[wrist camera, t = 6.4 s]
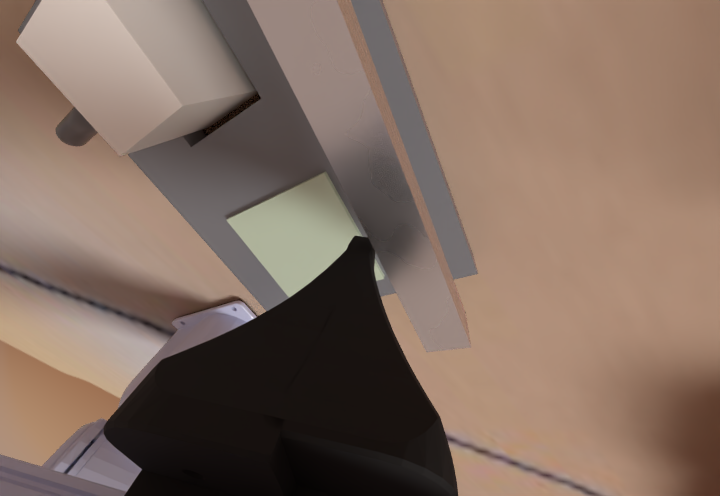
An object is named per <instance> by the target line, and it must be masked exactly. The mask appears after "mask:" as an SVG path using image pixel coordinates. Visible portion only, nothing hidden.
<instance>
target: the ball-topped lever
mask: <svg viewBox="0 0 720 496" xmlns="http://www.w3.org/2000/svg"><path fill="white" fill-rule="evenodd" d="M247 2H248V4H249V5H250V7H251V9H252V11H253V13H254V15H255V17H256V19H257V21H258V23H259V25H260V27H261V29H262V31H263V33H264V35H265V37H266V39H267V41H268V43H269V45H270V47H271V49H272V50H273V52H274V54H275V56H276V58H277V60H278V62H279V64H280V66H281V68H282V70H283V72H284V74H285V76H286V78H287V80H288V82H289V84H290V86H291V88H292V90H293V92H294V94H295V96H296V97H297V99H298V101H299V103H300V105H301V107H302V109H303V111H304V113H305V115H306V117H307V119H308V121H309V123H310V125H311V127H312V129H313V131H314V133H315V135H316V137H317V139H318V141H319V143H320V144H321V146H322V148H323V150H324V152H325V154H326V156H327V158H328V160H329V162H330V164H331V166H332V168H333V170H334V172H335V174H336V176H337V178H338V180H339V182H340V184H341V186H342V188H343V190H344V191H345V193H346V195H347V197H348V199H349V201H350V203H351V205H352V207H353V209H354V211H355V213H356V215H357V217H358V219H359V221H360V223H361V225H362V227H363V229H364V231H365V233H366V235H367V237H368V238H369V240H370V242H371V244H372V246H373V248H374V250H375V252H376V254H377V256H378V258H379V260H380V262H381V264H382V266H383V268H384V270H385V272H386V274H387V276H388V278H389V280H390V282H391V284H392V285H393V287H394V289H395V291H396V293H397V295H398V297H399V299H400V301H401V303H402V305H403V307H404V309H405V311H406V313H407V315H408V317H409V319H410V321H411V323H412V325H413V327H414V329H415V331H416V332H417V334H418V336H419V338H420V340H421V342H422V344H423V346H424V348H425V350H426V352H433V351H442V350H452V349H461V348H470V347H471V343H470V337H469V330H468V324H467V318H466V312H465V310H464V307H463V304H462V302H461V299H460V296H459V293H458V291H457V288H456V285H455V283H454V280H453V277H452V274H451V272H450V269H449V266H448V264H447V261H446V258H445V255H444V253H443V250H442V247H441V245H440V242H439V239H438V236H437V234H436V231H435V228H434V226H433V223H432V220H431V217H430V215H429V212H428V209H427V206H426V204H425V201H424V198H423V196H422V193H421V190H420V187H419V185H418V182H417V179H416V177H415V174H414V171H413V168H412V166H411V163H410V160H409V158H408V155H407V152H406V149H405V147H404V144H403V141H402V139H401V136H400V133H399V130H398V128H397V125H396V122H395V120H394V117H393V114H392V111H391V109H390V106H389V103H388V101H387V98H386V95H385V92H384V90H383V87H382V84H381V82H380V79H379V76H378V73H377V71H376V68H375V65H374V63H373V60H372V57H371V54H370V52H369V49H368V46H367V44H366V41H365V38H364V35H363V33H362V30H361V27H360V25H359V22H358V19H357V16H356V14H355V11H354V8H353V5H352V3H351V0H247Z"/></svg>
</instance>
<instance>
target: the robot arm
mask: <svg viewBox="0 0 720 496" xmlns="http://www.w3.org/2000/svg"><path fill="white" fill-rule="evenodd" d="M374 266H375V250H374V248H373V246H372V244H371V242H370V240H369V238H368V237H362V236H354V237H353V238H352V240H351V241H350V243H349V245H348V247H347V250H346V251H345V252H344V253H343V254H342V255H341V256H340V257H339V258H337V259H336V260H335V261H334V262H333V263H332V264H331V265H330V266H329V267H328V268H327V269H326V270H325V271H323V272H322V273H321V274H320V275H319V276H317V277H316V278H315V279H314V280H313V281H311V282H310V283H309V284H307V285H306V286H305V287H304V288H302V289H301V290H299V291H298V292H297V293H295V294H294V295H292V296H291V297H289V298H288V299H286V300H285V301H283V302H282V303H280V304H278V305H277V306H275V307H273V308H272V309H270V310H268V311H267V312H265V313H263V314H261V315H260V316H258V317H257V316H256V315H255V314H254V313H253V312H252V311H251V310H250V309H249V308H248V307H247V306H246V305H245V303H243V302H242V301H234V302H230V303H227V304H224V305H220V306H217V307H214V308H210V309H207V310H203V311H200V312H197V313H193V314H190V315H186V316H183V317H180V318H176V319H174V320H173V321H172V325H173V326H174V327H175V328H177V329H178V331H177V332H176V333H175V334H174V335H173V336H172V337H171V338H170V339H169V340H168V342H167V343H166V344H165V345H164V346H163V347H162V348H161V349H160V350H159V352H158V353H157V354H156V355H155V356H154V357H153V358H152V359H151V360H150V361H149V363H148V364H147V365H146V366H145V367H144V368H143V369H142V370H141V371H140V373H139V374H138V375H137V376H136V377H135V378H134V379H133V380H132V381H131V383H130V384H129V385H128V386H127V388H126V389H125V391H124V393H123V395H122V397H121V400H120V403H119V407H118V409H117V410H116V412H115V413H114V414H113V415H112V416H111V417H110V419H109V420H108V421H107V420H105V419H99V420H97V421H96V422H92V423H89V424H86V425H83V426H82V427H81V428H80V429H78V430H77V431H76V432H75V433H74V434H73V435H72V436H71V437H70V438H69V439H68V440H67V441H66V442H65V443H64V444H63V445H62V446H61V447H60V448H59V449H58V450H57V451H56V452H55V453H54V454H53V455H52V456H51V457H50V458H49V459H48V460H47V461H46V462H45V463H44V464H43V466H38V465H34V464H30V463H28V462H24V461H21V460H17V459H14V458H10V457H7V456H4V455H0V496H458V489H457V481H456V476H455V470H454V465H453V460H452V456H451V452H450V449H449V445H448V441H447V438H446V435H445V432H444V428H443V425H442V422H441V419H440V416H439V414H438V413H437V411H436V410H435V408H434V406H433V405H432V403H431V402H430V400H429V398H428V397H427V395H426V393H425V392H424V390H423V388H422V387H421V385H420V383H419V381H418V380H417V378H416V376H415V374H414V372H413V371H412V369H411V367H410V365H409V363H408V361H407V359H406V357H405V355H404V353H403V351H402V349H401V347H400V345H399V343H398V341H397V339H396V337H395V334H394V332H393V330H392V327H391V325H390V322H389V320H388V318H387V315H386V312H385V309H384V306H383V303H382V300H381V297H380V293H379V290H378V286H377V282H376V277H375V272H374Z"/></svg>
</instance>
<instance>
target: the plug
mask: <svg viewBox="0 0 720 496" xmlns="http://www.w3.org/2000/svg"><path fill="white" fill-rule="evenodd" d="M16 43H17V44H18V45H19V46H20V47H21V48H22V49H23V50H24V51H25V53H26V54H27V55H28V56H29V57H30V58H31V59H32V60H33V61H34V63H35V64H36V65H37V66H38V67H39V68H40V69H41V70H42V71H43V72H44V74H45V75H46V76H47V77H48V78H49V79H50V80H51V81H52V82H53V84H54V85H55V86H56V87H57V88H58V89H59V90H60V91H61V92H62V93H63V95H64V96H65V97H66V98H67V99H68V100H69V101H70V102H71V103H72V105H73V106H74V108H73V109H72V110H71V111H70V112H69V113H68V114H67V116H66V117H65V118H64V119H63V120H62V121H61V122H60V123H59V124H58V125H57V127H56V134H57V136H58V138H59V139H60V140H61V141H62V142H64V143H66V144H68V145H71V146H82V145H84V144H86V143H87V142H88V141H89V140H90V139H91V138H92V137H93V136H95V135H96V134H97V133H99V134H100V135H101V137H102V138H103V139H104V140H105V141H106V142H107V143H108V144H109V145H110V147H111V148H112V149H113V150H114V151H115V152H116V153H117V154H118V155H119V156H123V155H126V154H129V153H132V152H135V151H139V150H142V149H145V148H148V147H151V146H154V145H157V144H160V143H163V142H166V141H169V140H172V139H175V138H178V137H181V136H184V135H187V134H190V133H193V132H197V131H200V130H203V129H206V128H209V127H211V126H212V125H213V124H215V123H216V122H218V121H219V120H221V119H222V118H223V117H225V116H226V115H228V114H229V113H230V112H232V111H233V110H235V109H236V108H238V107H239V106H240V105H242V104H243V103H245V102H246V101H247V100H249V99H250V98H252V97H253V96H255V95H256V94H257V93H258V92H257V91H256V89H255V87H254V86H253V84H252V82H251V81H250V79H249V77H248V76H247V74H246V72H245V71H244V69H243V67H242V66H241V64H240V62H239V61H238V59H237V57H236V56H235V54H234V52H233V51H232V49H231V47H230V46H229V44H228V42H227V41H226V39H225V37H224V36H223V34H222V32H221V31H220V29H219V27H218V26H217V24H216V22H215V21H214V19H213V17H212V16H211V14H210V12H209V11H208V9H207V7H206V6H205V4H204V2H203V1H202V0H42V1H41V2H40V4H39V5H38V7H37V9H36V10H35V12H34V14H33V15H32V17H31V18H30V20H29V22H28V23H27V25H26V26H25V28H24V30H23V31H22V33H21V35H20V36H19V38H18V39H17V41H16Z"/></svg>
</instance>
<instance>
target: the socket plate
mask: <svg viewBox="0 0 720 496" xmlns="http://www.w3.org/2000/svg"><path fill="white" fill-rule="evenodd" d="M41 1H42V0H36V1H35V3H34V5H33V6H32V8H31V10H30V11H29V13H28V14H27V16H26V18H25V19H24V21H23V23H22V24H21V26H20V28H19V29H18V31H19V33H20V34H21V33H22V31H23V30H24V28H25V26H26V25H27V23H28V22H29V20H30V18H31V17H32V15H33V14H34V12H35V10H36V9H37V7H38V5H39V4H40V2H41ZM202 1H203V2H204V4H205V6H206V7H207V9H208V11H209V12H210V14H211V16H212V17H213V19H214V21H215V22H216V24H217V26H218V27H219V29H220V31H221V32H222V34H223V36H224V37H225V39H226V41H227V42H228V44H229V46H230V47H231V49H232V51H233V52H234V54H235V56H236V57H237V59H238V61H239V62H240V64H241V66H242V67H243V69H244V71H245V72H246V74H247V76H248V77H249V79H250V81H251V82H252V84H253V86H254V87H255V89H256V91H257V92H258V94H259V96H260V97H261V99H260V100H259V101H257V102H256V103H254V104H253V105H251V106H250V107H249V108H247V109H246V110H244V111H243V112H241V113H240V114H238V115H237V116H236V117H234V118H233V119H231V120H230V121H228V122H227V123H225V124H224V125H223V126H221V127H220V128H218V129H217V130H215V131H214V132H212V133H211V134H209V135H208V136H206V135H205V133H204V132H203V131H202V130H200V131H197V132H193V133H190V134H187V135H184V136H181V137H178V138H175V139H172V140H169V141H166V142H163V143H160V144H157V145H154V146H151V147H148V148H145V149H142V150H139V151H135V152H132V153H129V154H128V155H129V157H130V158H131V159H132V160H133V161H134V162H135V163H136V164H137V166H138V167H139V168H140V169H141V170H142V171H143V172H144V173H145V175H146V176H147V177H148V178H149V179H150V180H151V181H152V182H153V184H154V185H155V186H156V187H157V188H158V189H159V190H160V191H161V193H162V194H163V195H164V196H165V197H166V198H167V199H168V200H169V202H170V203H171V204H172V205H173V206H174V207H175V208H176V210H177V211H178V212H179V213H180V214H181V215H182V216H183V217H184V219H185V220H186V221H187V222H188V223H189V224H190V225H191V226H192V228H193V229H194V230H195V231H196V232H197V233H198V234H199V235H200V237H201V238H202V239H203V240H204V241H205V242H206V243H207V244H208V246H209V247H210V248H211V249H212V250H213V251H214V252H215V253H216V255H217V256H218V257H219V258H220V259H221V260H222V261H223V262H224V264H225V265H226V266H227V267H228V268H229V269H230V270H231V271H232V273H233V274H234V275H235V276H236V277H237V278H238V279H239V280H240V282H241V283H242V284H243V285H244V286H245V287H246V288H247V290H248V291H249V292H250V293H251V294H252V295H253V296H254V297H255V299H256V300H257V301H258V302H259V303H260V304H261V305H262V306H263V308H264V309H265V310H266V311H268V310H270V309H272V308H273V307H275V306H277V305H278V304H280V303H282V302H283V301H285V300H286V299H288V298H289V297H291V296H292V295H294V294H295V293H297V292H298V291H299V290H301V289H302V288H304V287H305V286H306V285H307V284H309V283H310V282H311V281H313V280H314V279H315V278H316V277H317V276H319V275H320V274H321V273H322V272H323V271H325V270H326V269H327V268H328V267H329V266H330V265H331V264H332V263H333V262H334V261H335V260H336V259H337V258H339V257H340V256H341V255H342V254H343V253H344V252H345V251H346V250H347V247H348V245H349V243H350V241H351V240H352V238H353V237H354V236H362V237H367V235H366V233H365V231H364V229H363V227H362V225H361V223H360V221H359V219H358V217H357V215H356V213H355V211H354V209H353V207H352V205H351V203H350V201H349V199H348V197H347V195H346V193H345V191H344V190H343V188H342V186H341V184H340V182H339V180H338V178H337V176H336V174H335V172H334V170H333V168H332V166H331V164H330V162H329V160H328V158H327V156H326V154H325V152H324V150H323V148H322V146H321V144H320V143H319V141H318V139H317V137H316V135H315V133H314V131H313V129H312V127H311V125H310V123H309V121H308V119H307V117H306V115H305V113H304V111H303V109H302V107H301V105H300V103H299V101H298V99H297V97H296V96H295V94H294V92H293V90H292V88H291V86H290V84H289V82H288V80H287V78H286V76H285V74H284V72H283V70H282V68H281V66H280V64H279V62H278V60H277V58H276V56H275V54H274V52H273V50H272V49H271V47H270V45H269V43H268V41H267V39H266V37H265V35H264V33H263V31H262V29H261V27H260V25H259V23H258V21H257V19H256V17H255V15H254V13H253V11H252V9H251V7H250V5H249V4H248V2H247V0H202ZM351 3H352V5H353V8H354V11H355V14H356V16H357V19H358V22H359V25H360V27H361V30H362V33H363V35H364V38H365V41H366V44H367V46H368V49H369V52H370V54H371V57H372V60H373V63H374V65H375V68H376V71H377V73H378V76H379V79H380V82H381V84H382V87H383V90H384V92H385V95H386V98H387V101H388V103H389V106H390V109H391V111H392V114H393V117H394V120H395V122H396V125H397V128H398V130H399V133H400V136H401V139H402V141H403V144H404V147H405V149H406V152H407V155H408V158H409V160H410V163H411V166H412V168H413V171H414V174H415V177H416V179H417V182H418V185H419V187H420V190H421V193H422V196H423V198H424V201H425V204H426V206H427V209H428V212H429V215H430V217H431V220H432V223H433V226H434V228H435V231H436V234H437V236H438V239H439V242H440V245H441V247H442V250H443V253H444V255H445V258H446V261H447V264H448V266H449V269H450V272H451V274H452V277H453V280H454V279H458V278H462V277H466V276H471V275H475V274H478V272H477V268H476V264H475V260H474V257H473V254H472V251H471V248H470V245H469V243H468V240H467V237H466V234H465V231H464V228H463V226H462V223H461V220H460V217H459V214H458V212H457V209H456V206H455V203H454V200H453V198H452V195H451V192H450V189H449V186H448V184H447V181H446V178H445V175H444V172H443V170H442V167H441V164H440V161H439V158H438V155H437V153H436V150H435V147H434V144H433V141H432V139H431V136H430V133H429V130H428V127H427V125H426V122H425V119H424V116H423V113H422V111H421V108H420V105H419V102H418V99H417V97H416V94H415V91H414V88H413V85H412V82H411V80H410V77H409V74H408V71H407V68H406V66H405V63H404V60H403V57H402V54H401V52H400V49H399V46H398V43H397V40H396V38H395V35H394V32H393V29H392V26H391V24H390V21H389V18H388V15H387V12H386V9H385V7H384V4H383V1H382V0H351ZM374 272H375V277H376V282H377V286H378V290H379V293H380V297H381V296H385V295H389V294H393V293H396V291H395V289H394V287H393V285H392V284H391V282H390V280H389V278H388V276H387V274H386V272H385V270H384V268H383V266H382V264H381V262H380V260H379V258H378V256H377V254H376V252H375V266H374Z"/></svg>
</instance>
